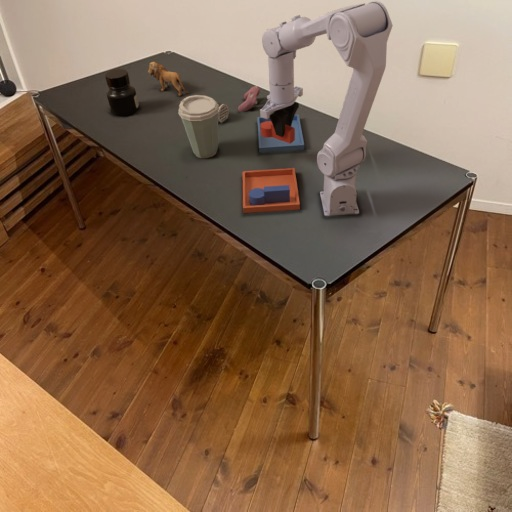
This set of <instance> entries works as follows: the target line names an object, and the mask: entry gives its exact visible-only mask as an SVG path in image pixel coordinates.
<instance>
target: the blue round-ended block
mask: <svg viewBox="0 0 512 512" xmlns="http://www.w3.org/2000/svg"><path fill="white" fill-rule="evenodd" d="M249 200H250V204H251V205H253V206H257V205H264V204H265V203H279V202H290V188H289V185H283V186H267V187H264V189H261V188H255V189H252V190H251V191H250V192H249Z"/></svg>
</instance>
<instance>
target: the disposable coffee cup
mask: <svg viewBox="0 0 512 512" xmlns="http://www.w3.org/2000/svg"><path fill="white" fill-rule="evenodd" d="M187 96H188V97H186V96H185V97H186V98H185V99H183V100H182V101H181V102H180V101H179V104H180V105H179V104H178V107H179V108H178V110H177V113H178V115H179V117H180V118H181V119H180V120H181V122H182V125H183V127H184V129H185V133H186V136H187V138H188V141H189V144H190V147H191V149H192V152H193V154H194V155H195V157H196V158H199V159H209V158H212V157H214V156H215V155H216V154H217V152H218V149H219V122H218V113H219V105H218V103H219V102H217V101H216V100H215V99H214V98H213V97H211V96H209V95H200V94H193V95H187Z"/></svg>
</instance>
